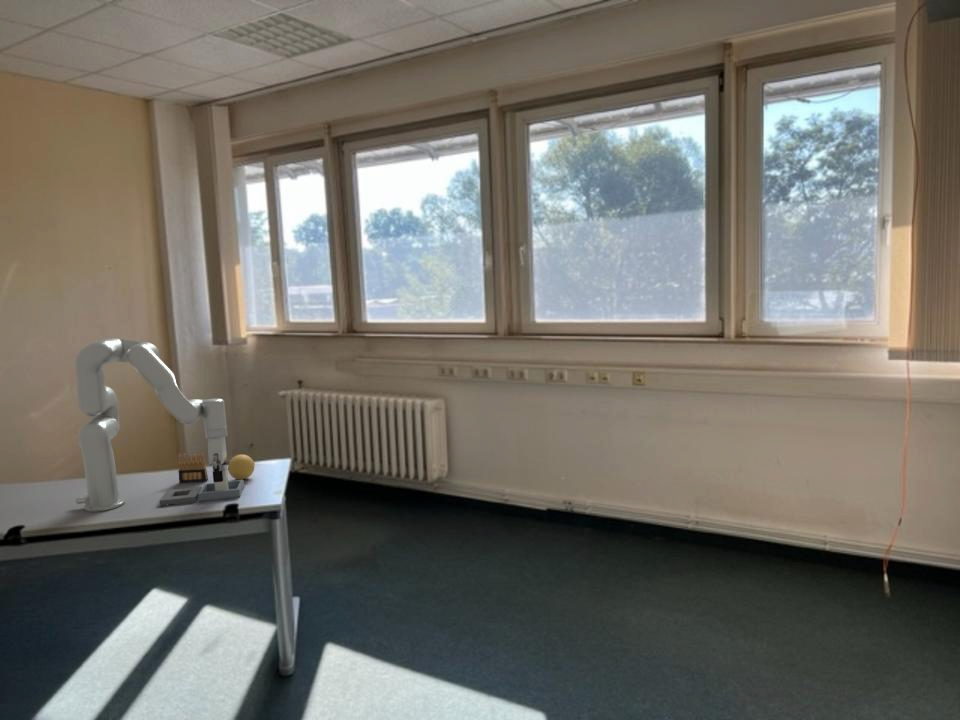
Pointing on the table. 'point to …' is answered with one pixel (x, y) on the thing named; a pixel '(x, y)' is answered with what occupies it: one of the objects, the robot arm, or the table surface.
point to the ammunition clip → (192, 468)
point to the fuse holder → (180, 496)
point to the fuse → (224, 483)
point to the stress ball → (241, 467)
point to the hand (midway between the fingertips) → (220, 477)
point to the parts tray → (210, 493)
